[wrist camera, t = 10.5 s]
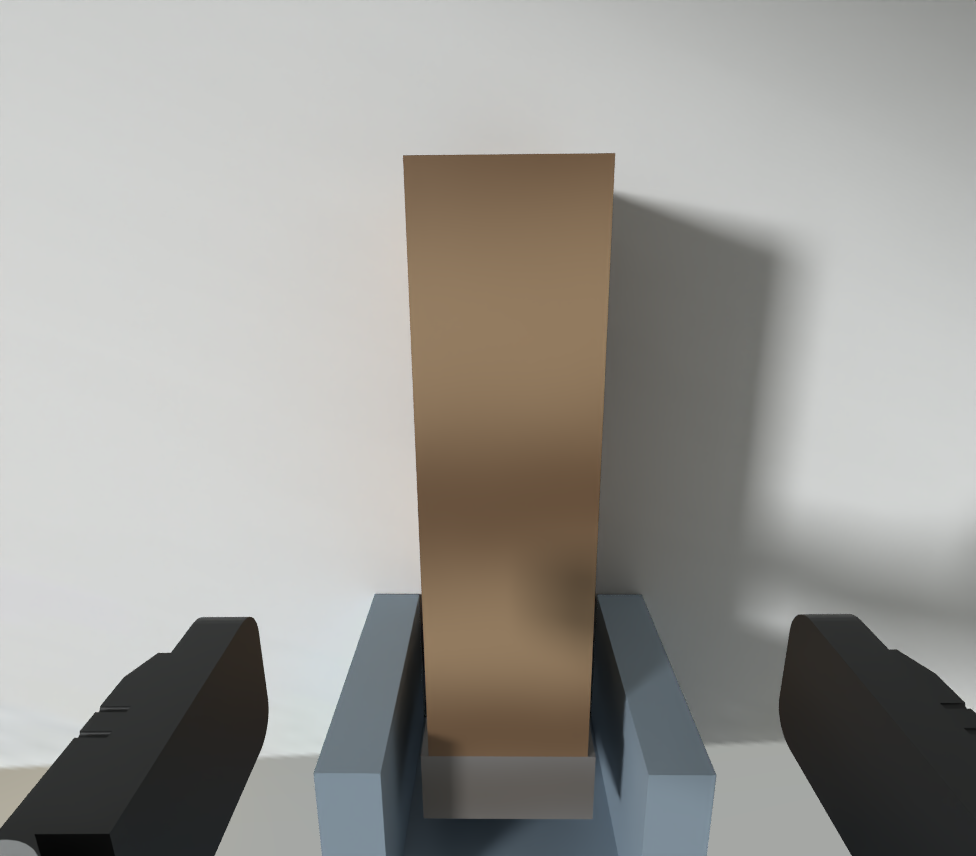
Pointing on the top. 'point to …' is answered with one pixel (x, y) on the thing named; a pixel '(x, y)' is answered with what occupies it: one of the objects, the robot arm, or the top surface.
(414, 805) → the grey u-channel
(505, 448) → the rail
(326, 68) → the top surface
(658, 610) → the top surface
